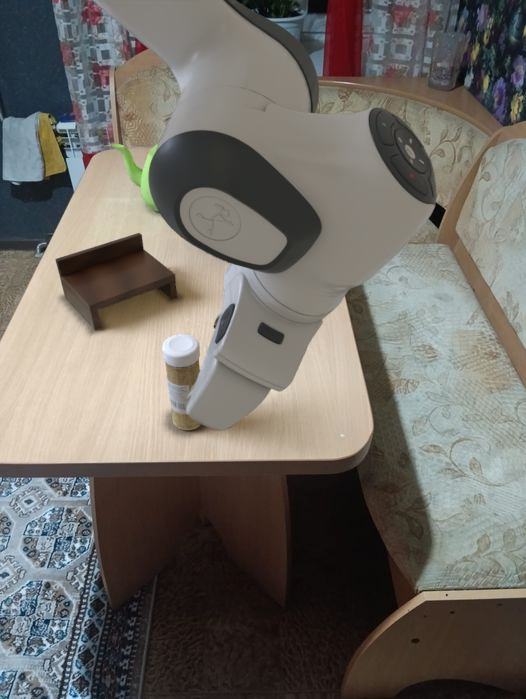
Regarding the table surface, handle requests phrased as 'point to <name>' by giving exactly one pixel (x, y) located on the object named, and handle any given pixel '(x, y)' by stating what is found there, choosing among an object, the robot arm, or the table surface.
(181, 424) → the sprinkles bottle
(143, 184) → the teapot
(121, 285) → the shelf
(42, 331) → the table surface
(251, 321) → the robot arm
